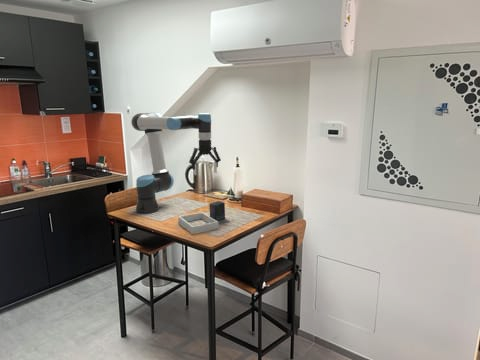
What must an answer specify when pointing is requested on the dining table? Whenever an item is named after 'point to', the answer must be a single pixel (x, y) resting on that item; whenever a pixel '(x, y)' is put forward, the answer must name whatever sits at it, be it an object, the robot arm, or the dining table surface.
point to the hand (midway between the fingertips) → (205, 173)
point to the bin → (209, 226)
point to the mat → (223, 221)
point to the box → (217, 210)
